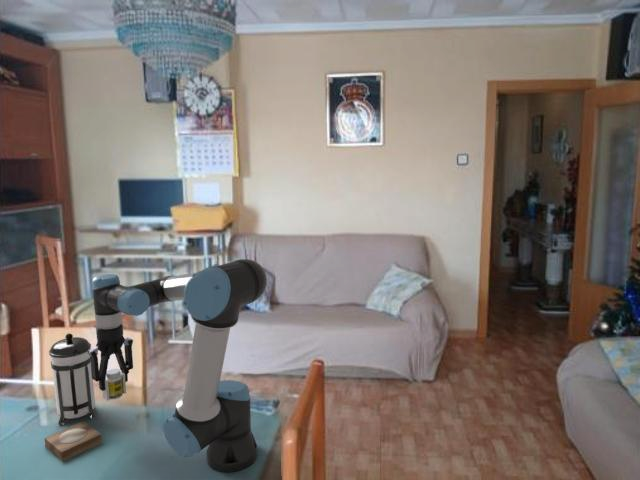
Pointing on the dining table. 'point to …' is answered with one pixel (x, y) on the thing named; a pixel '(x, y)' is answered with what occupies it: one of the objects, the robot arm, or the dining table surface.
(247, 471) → the dining table surface
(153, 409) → the dining table surface
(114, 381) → the supplement bottle
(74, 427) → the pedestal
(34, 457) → the dining table surface
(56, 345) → the coffee press
